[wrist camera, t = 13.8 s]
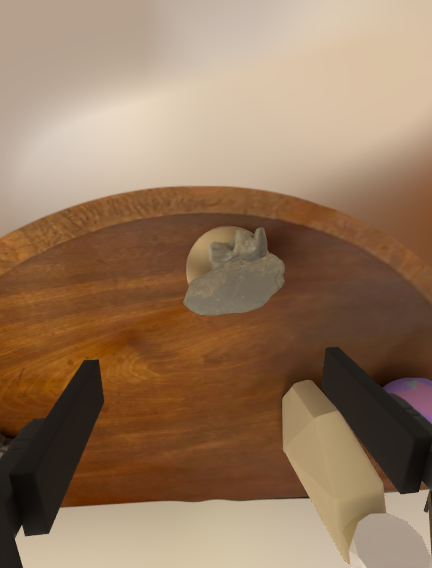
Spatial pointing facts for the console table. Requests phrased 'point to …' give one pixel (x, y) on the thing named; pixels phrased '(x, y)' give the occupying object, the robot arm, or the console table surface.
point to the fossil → (236, 276)
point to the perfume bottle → (345, 484)
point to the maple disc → (200, 251)
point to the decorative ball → (414, 393)
